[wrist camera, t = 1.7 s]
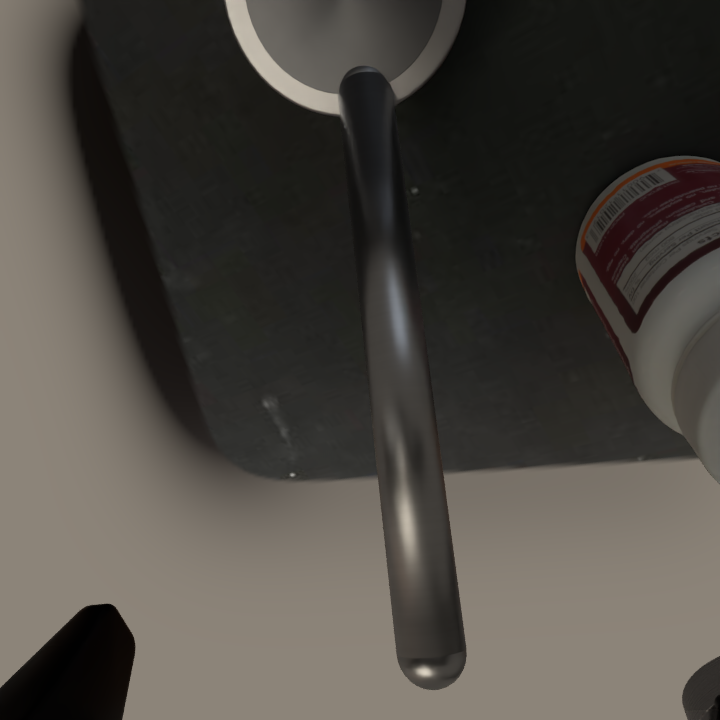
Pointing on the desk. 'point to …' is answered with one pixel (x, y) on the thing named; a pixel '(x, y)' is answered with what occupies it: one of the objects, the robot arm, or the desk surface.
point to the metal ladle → (381, 274)
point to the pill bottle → (662, 289)
